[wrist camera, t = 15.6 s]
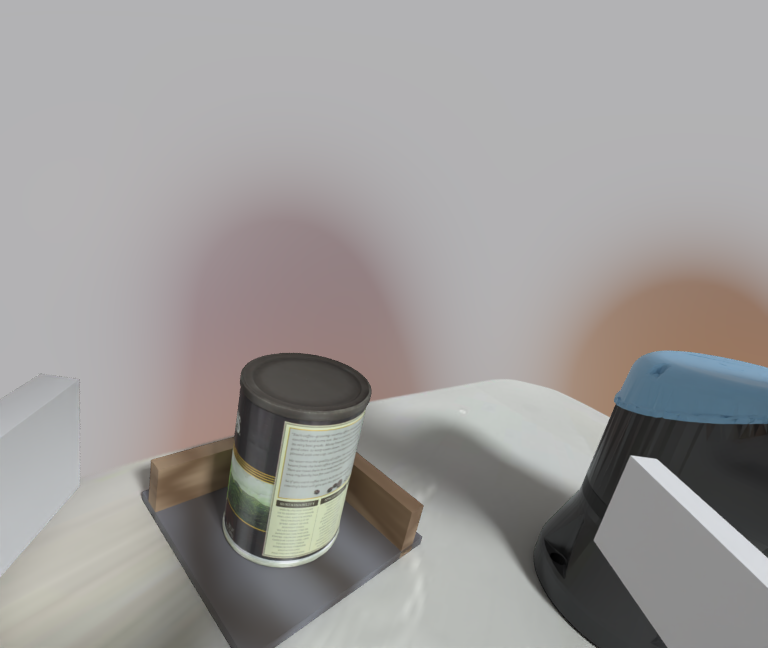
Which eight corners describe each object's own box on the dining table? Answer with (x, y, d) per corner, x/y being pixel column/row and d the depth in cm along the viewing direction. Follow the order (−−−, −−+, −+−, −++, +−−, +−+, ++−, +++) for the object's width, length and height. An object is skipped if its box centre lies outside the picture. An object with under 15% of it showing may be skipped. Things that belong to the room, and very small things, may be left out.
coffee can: (197, 549, 34) (215, 388, 30) (251, 471, 44) (270, 342, 40) (324, 585, 33) (360, 425, 29) (350, 498, 43) (379, 369, 39)
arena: (306, 444, 52) (312, 407, 50) (420, 543, 40) (433, 499, 39) (142, 499, 38) (145, 450, 37) (243, 669, 27) (254, 609, 26)
